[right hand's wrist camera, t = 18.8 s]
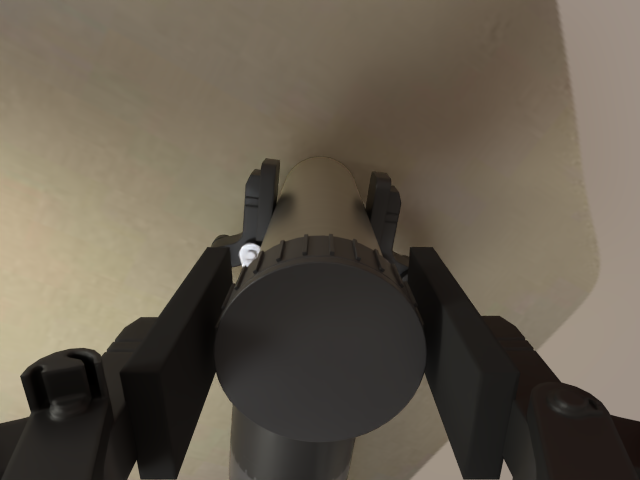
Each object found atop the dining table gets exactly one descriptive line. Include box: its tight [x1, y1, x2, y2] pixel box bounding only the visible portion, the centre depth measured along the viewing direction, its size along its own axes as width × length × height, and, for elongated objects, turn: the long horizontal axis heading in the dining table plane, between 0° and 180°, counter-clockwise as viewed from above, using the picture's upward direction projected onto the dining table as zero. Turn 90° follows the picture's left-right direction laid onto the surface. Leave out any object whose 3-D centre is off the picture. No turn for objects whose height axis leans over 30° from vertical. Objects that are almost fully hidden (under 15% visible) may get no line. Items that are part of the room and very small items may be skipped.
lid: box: [213, 234, 427, 442], centre depth 11 cm, size 5×6×2 cm
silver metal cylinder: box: [257, 157, 383, 257], centre depth 19 cm, size 5×5×16 cm
